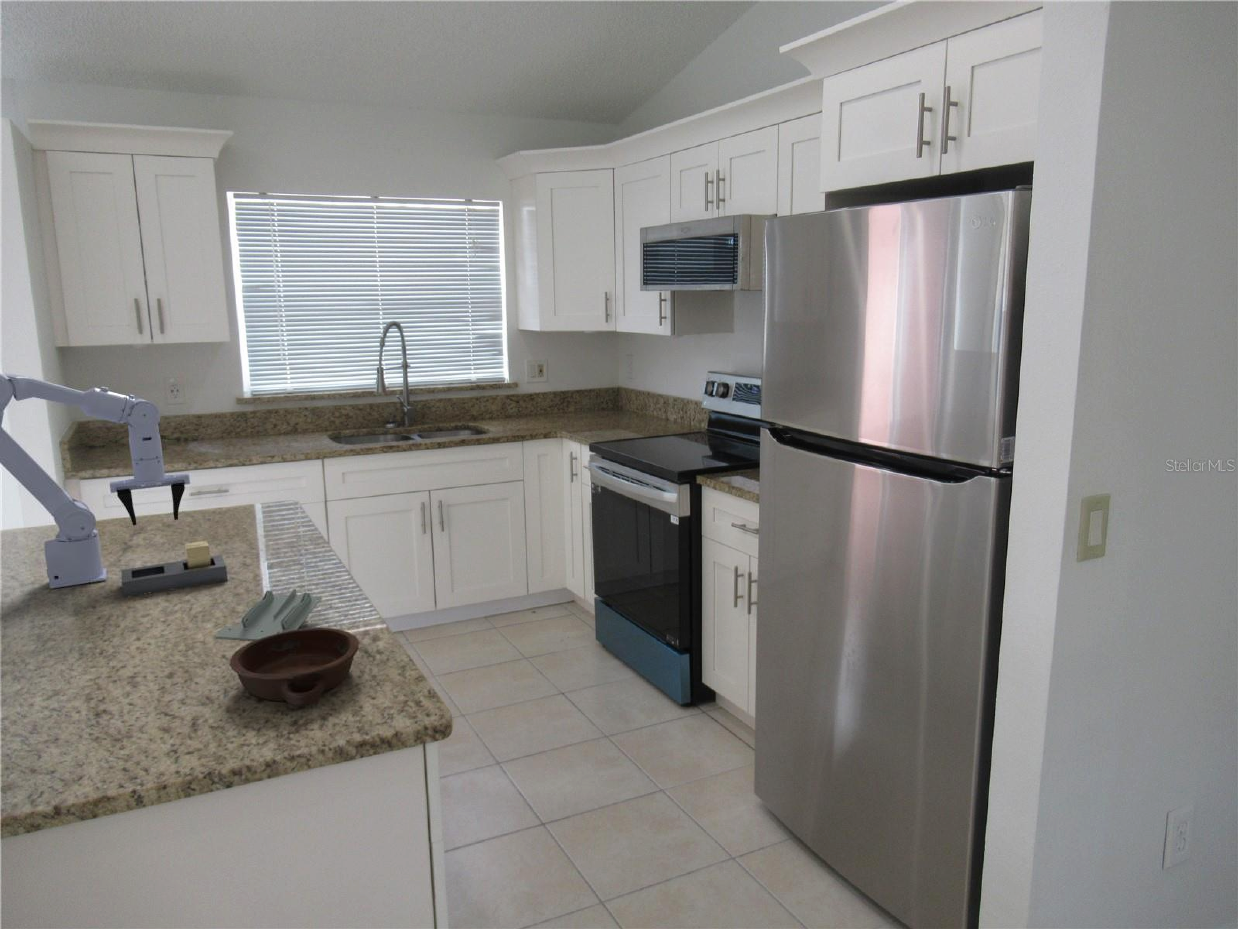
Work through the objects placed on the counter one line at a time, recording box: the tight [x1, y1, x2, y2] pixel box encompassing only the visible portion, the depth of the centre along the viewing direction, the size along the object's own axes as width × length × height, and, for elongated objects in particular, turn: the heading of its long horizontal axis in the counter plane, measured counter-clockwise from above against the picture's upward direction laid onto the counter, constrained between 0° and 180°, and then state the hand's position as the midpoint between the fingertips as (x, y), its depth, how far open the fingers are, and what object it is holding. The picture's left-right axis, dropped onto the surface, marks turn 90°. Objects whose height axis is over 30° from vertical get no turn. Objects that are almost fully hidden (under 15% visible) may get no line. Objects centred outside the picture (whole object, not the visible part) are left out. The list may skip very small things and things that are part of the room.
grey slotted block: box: [121, 554, 228, 598], centre depth 170 cm, size 18×9×3 cm, turn 120°
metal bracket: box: [214, 588, 323, 642], centre depth 146 cm, size 14×6×15 cm
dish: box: [229, 627, 360, 707], centre depth 125 cm, size 18×22×5 cm
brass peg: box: [184, 540, 211, 570], centre depth 172 cm, size 4×4×7 cm
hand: (155, 521), depth 181 cm, fingers open, 7 cm apart
